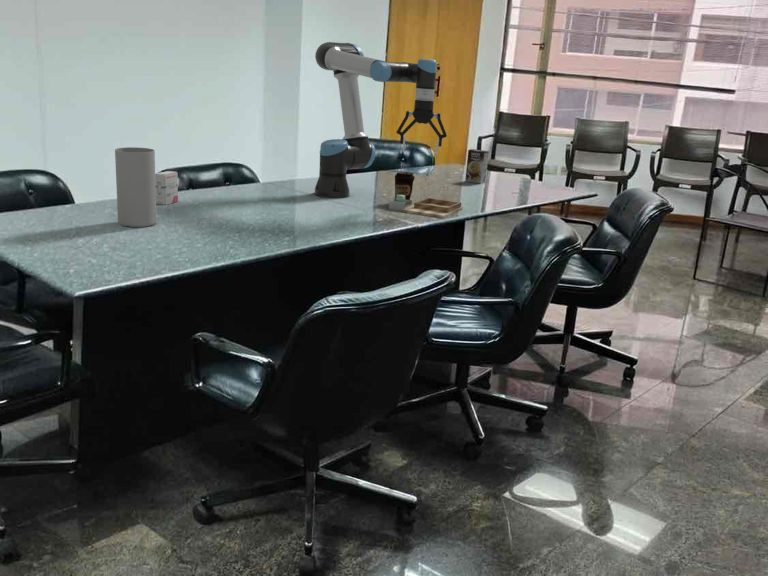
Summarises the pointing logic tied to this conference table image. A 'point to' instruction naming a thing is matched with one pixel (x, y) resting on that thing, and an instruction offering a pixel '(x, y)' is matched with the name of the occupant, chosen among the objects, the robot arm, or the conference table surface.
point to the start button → (400, 198)
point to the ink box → (166, 187)
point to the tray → (434, 207)
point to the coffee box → (477, 166)
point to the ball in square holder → (399, 204)
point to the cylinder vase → (136, 186)
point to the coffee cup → (404, 184)
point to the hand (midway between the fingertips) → (419, 153)
